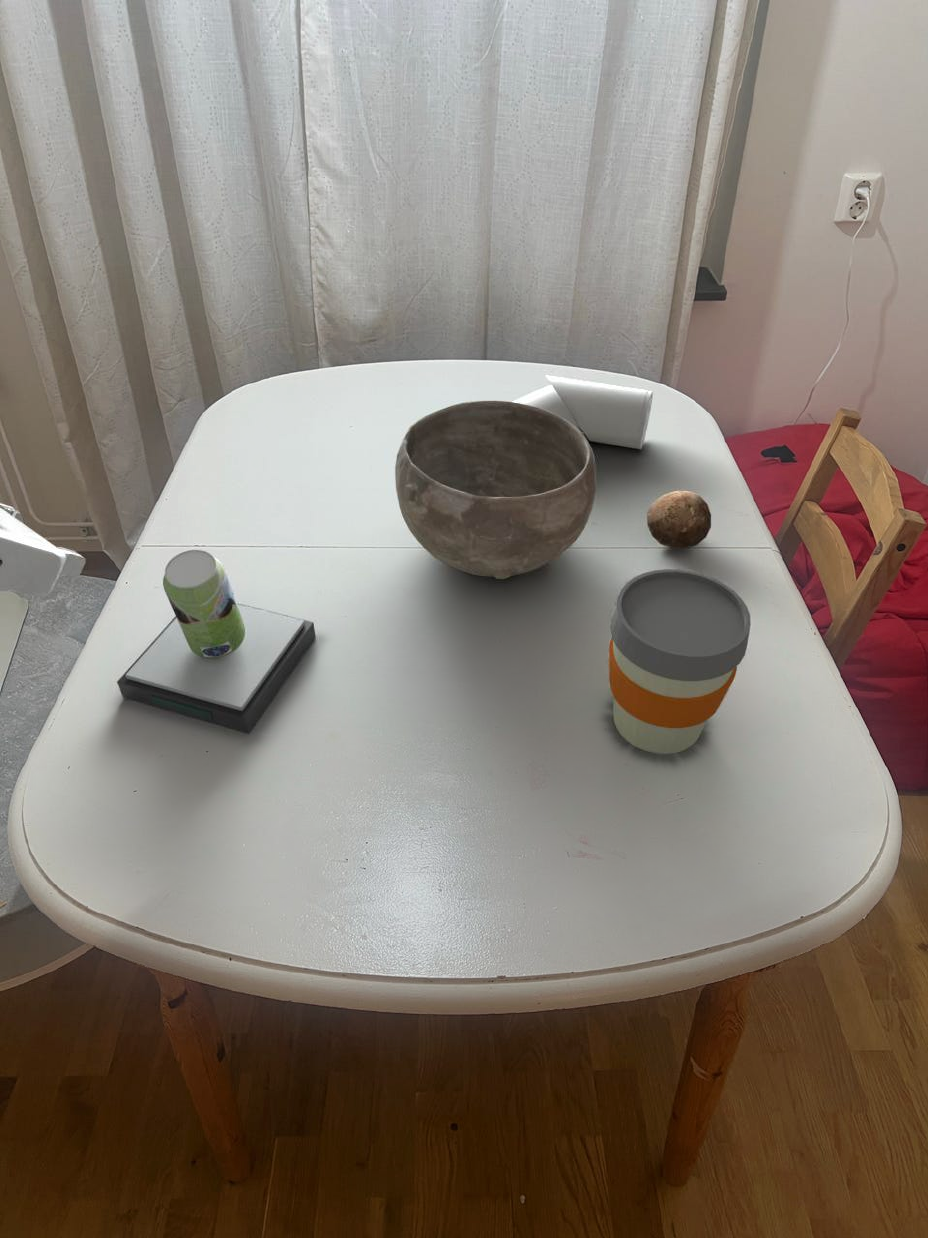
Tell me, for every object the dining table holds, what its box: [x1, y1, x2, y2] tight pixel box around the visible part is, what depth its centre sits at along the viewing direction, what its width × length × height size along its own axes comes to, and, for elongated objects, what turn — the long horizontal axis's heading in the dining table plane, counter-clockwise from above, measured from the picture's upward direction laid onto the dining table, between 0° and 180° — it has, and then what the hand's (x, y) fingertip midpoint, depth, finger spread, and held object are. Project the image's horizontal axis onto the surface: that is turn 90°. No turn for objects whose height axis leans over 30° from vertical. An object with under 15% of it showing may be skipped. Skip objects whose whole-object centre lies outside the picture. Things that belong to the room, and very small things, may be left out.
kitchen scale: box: [116, 602, 317, 735], centre depth 92 cm, size 15×15×3 cm
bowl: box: [394, 400, 597, 580], centre depth 104 cm, size 24×24×15 cm
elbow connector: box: [512, 375, 654, 450], centre depth 125 cm, size 18×11×20 cm
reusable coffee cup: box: [608, 568, 752, 755], centre depth 82 cm, size 13×13×15 cm
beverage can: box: [162, 549, 245, 659], centre depth 87 cm, size 6×7×12 cm
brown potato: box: [646, 490, 712, 549], centre depth 109 cm, size 8×8×6 cm
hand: (45, 542), depth 70 cm, fingers open, 8 cm apart
